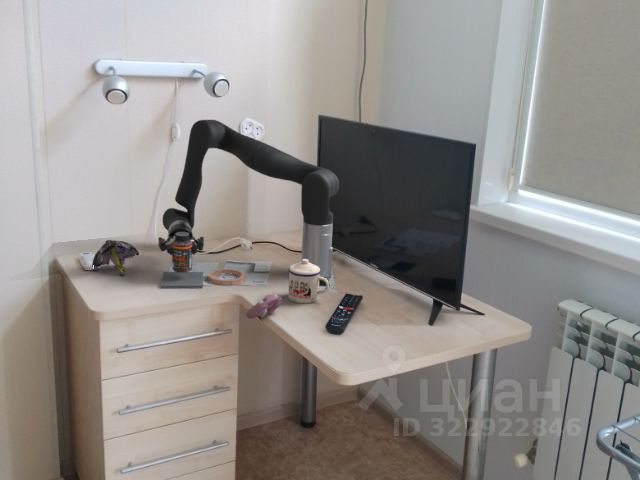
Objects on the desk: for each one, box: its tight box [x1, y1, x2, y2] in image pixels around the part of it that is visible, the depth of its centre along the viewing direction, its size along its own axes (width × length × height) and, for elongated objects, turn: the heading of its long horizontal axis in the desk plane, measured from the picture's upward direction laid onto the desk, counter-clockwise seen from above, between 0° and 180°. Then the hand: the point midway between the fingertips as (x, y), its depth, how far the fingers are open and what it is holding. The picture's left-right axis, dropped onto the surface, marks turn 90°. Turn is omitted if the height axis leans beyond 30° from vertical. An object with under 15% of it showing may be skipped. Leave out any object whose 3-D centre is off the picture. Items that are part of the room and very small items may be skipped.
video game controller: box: [245, 293, 284, 319], centre depth 183 cm, size 10×5×7 cm, turn 144°
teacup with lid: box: [288, 258, 330, 304], centre depth 195 cm, size 12×9×12 cm
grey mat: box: [160, 271, 204, 289], centre depth 205 cm, size 12×12×1 cm
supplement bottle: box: [171, 232, 193, 272], centre depth 203 cm, size 6×6×11 cm
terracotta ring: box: [207, 268, 246, 286], centre depth 209 cm, size 11×11×1 cm
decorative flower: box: [91, 239, 140, 277], centre depth 208 cm, size 15×12×15 cm
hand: (182, 251), depth 200 cm, fingers closed on supplement bottle, 6 cm apart
